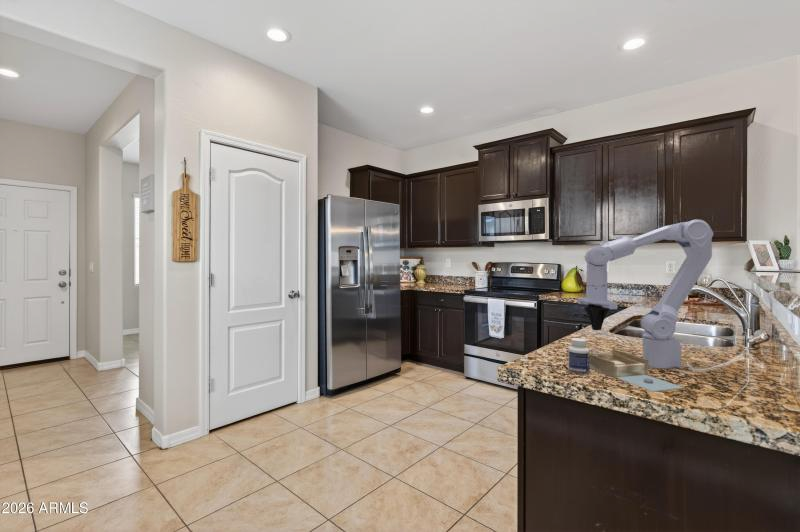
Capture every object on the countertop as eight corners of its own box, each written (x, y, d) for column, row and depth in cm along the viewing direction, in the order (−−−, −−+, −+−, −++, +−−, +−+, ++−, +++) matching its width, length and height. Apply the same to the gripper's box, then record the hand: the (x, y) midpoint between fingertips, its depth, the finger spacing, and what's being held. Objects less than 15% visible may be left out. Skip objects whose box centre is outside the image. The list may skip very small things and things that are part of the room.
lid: (645, 380, 103) (645, 372, 103) (683, 393, 93) (683, 385, 93) (615, 383, 101) (615, 375, 101) (652, 397, 90) (652, 388, 90)
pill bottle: (592, 377, 104) (592, 341, 104) (570, 376, 105) (571, 341, 105) (586, 371, 109) (586, 337, 109) (566, 370, 110) (566, 337, 110)
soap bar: (616, 367, 111) (616, 360, 111) (625, 370, 108) (625, 363, 107) (601, 368, 110) (601, 361, 110) (610, 371, 106) (610, 364, 106)
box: (613, 365, 116) (613, 349, 116) (648, 377, 104) (648, 359, 104) (581, 367, 113) (581, 351, 113) (613, 380, 101) (613, 362, 101)
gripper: (569, 284, 124) (569, 326, 124) (602, 287, 109) (602, 334, 110) (588, 284, 125) (588, 325, 125) (623, 287, 111) (623, 333, 111)
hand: (596, 329), depth 118 cm, fingers closed
